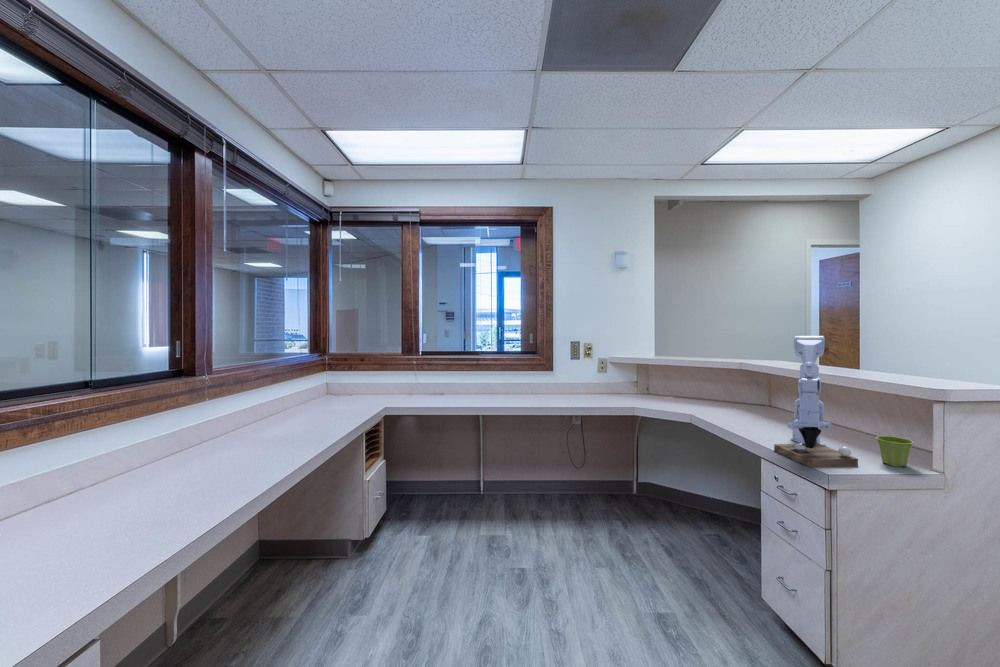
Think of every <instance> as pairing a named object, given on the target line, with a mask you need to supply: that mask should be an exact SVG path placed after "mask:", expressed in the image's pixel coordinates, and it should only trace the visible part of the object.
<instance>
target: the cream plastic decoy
mask: <svg viewBox="0 0 1000 667" xmlns="http://www.w3.org/2000/svg"><path fill="white" fill-rule="evenodd" d="M837 451H838V452H839V454H840V455H841V456H844V457H848V456H851V455H852V451H851V448H850V447H848V446H839V448H838V449H837Z"/></svg>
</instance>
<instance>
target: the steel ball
mask: <svg viewBox="0 0 1000 667" xmlns="http://www.w3.org/2000/svg"><path fill="white" fill-rule="evenodd" d="M795 444H796V446H795V449H796V451H798V452H799V453H805V452H806V451H807V447H806V445H804V444H802V443H798V442H797V443H795Z"/></svg>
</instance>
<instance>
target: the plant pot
mask: <svg viewBox="0 0 1000 667" xmlns="http://www.w3.org/2000/svg"><path fill="white" fill-rule="evenodd" d="M875 438H876V440H877V442H878V445H879V449H880V456H881V461H882V463H883V464H887V465H888V466H891V467H907V466H908V461H909V455H910V451H911V448H912V446H913V445H914V441H913V440H911V439H907V438H904V437H898V436H892V435H891V436H890V435H878V436H876V437H875Z"/></svg>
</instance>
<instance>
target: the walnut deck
mask: <svg viewBox="0 0 1000 667" xmlns="http://www.w3.org/2000/svg"><path fill="white" fill-rule="evenodd" d="M796 444H797V443H775V444H773V446H774V447H773V448H774V449H773V451H774V450H775V451H774V452H776V451H777V453H778V452H779V454H781V453H782V454H781V455H783V454H784V455H783V456H785V455H786V456H785V457H787V456H788V457H787V458H789V457H790V458H789V459H791V460H793V461H795V462H797V463H799V464H802V465H804V466H806V467H808V468H823V467H827V468H829V467H832V468H833V467H857V466H859V459H858V458H857V457H854V456H851V455H850V456H848V457H844V456H841V455H840V454H839V452H838V449H837V450H836V449H834V448H832V447H828V446H827V445H821V444H819V443H816V444H815V445H814V447H813V448H808V447H807V451H806V452H805V453H799V452H798V451H796V449H795V446H796ZM802 444H804V445H805V443H802Z"/></svg>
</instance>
